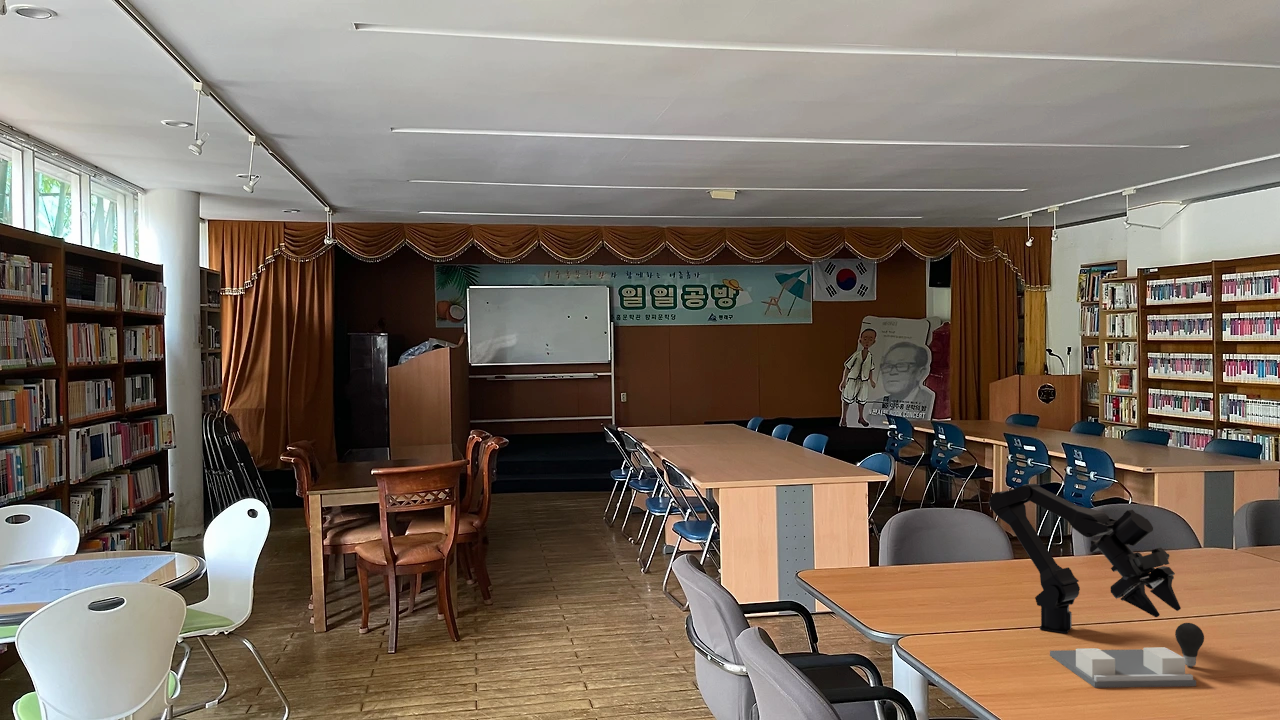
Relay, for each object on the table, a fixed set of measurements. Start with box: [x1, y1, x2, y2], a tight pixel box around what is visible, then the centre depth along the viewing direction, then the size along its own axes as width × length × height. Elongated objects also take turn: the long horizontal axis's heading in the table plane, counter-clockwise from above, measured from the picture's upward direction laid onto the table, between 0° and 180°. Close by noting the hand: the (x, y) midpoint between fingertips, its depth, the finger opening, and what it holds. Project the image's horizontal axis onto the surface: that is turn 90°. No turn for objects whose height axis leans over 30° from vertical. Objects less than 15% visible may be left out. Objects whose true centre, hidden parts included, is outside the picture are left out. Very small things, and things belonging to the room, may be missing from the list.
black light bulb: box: [1174, 622, 1205, 668], centre depth 201 cm, size 6×6×10 cm
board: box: [1049, 646, 1197, 689], centre depth 200 cm, size 20×22×5 cm
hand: (1168, 613), depth 205 cm, fingers open, 9 cm apart
